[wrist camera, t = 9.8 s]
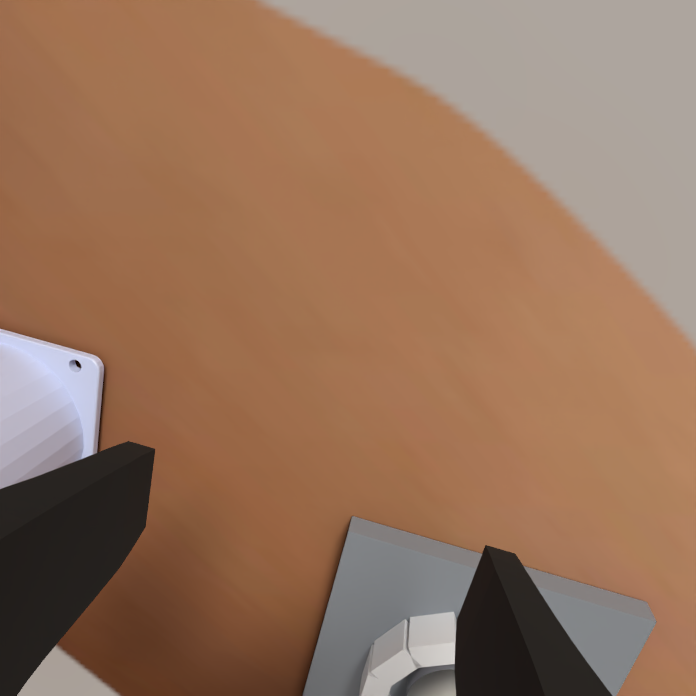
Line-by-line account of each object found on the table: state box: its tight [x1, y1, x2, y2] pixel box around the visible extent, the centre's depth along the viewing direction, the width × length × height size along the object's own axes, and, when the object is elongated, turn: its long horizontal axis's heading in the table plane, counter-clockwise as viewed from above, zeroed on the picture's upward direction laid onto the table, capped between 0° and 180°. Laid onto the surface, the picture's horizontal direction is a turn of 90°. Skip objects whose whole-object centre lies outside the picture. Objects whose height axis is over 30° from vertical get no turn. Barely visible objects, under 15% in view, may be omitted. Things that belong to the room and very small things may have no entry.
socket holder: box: [302, 516, 656, 696], centre depth 23 cm, size 12×12×2 cm
